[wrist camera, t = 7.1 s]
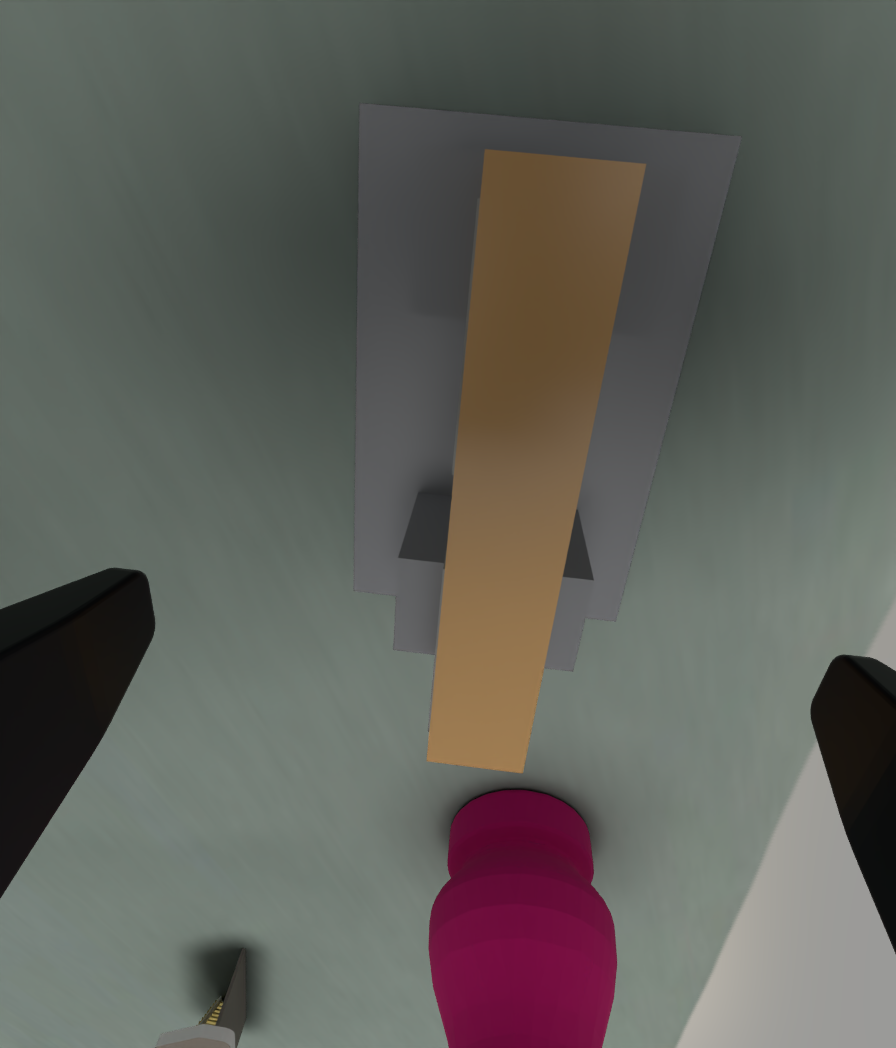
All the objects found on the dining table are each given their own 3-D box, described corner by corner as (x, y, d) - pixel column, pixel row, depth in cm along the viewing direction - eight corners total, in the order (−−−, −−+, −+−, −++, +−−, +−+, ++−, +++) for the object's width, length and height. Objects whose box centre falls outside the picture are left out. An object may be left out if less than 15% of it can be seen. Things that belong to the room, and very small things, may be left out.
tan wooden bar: (521, 670, 17) (525, 773, 14) (439, 660, 17) (424, 760, 14) (611, 173, 11) (649, 164, 8) (488, 162, 12) (480, 148, 8)
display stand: (611, 604, 22) (637, 707, 17) (359, 575, 22) (322, 668, 18) (729, 139, 15) (819, 115, 11) (367, 108, 16) (312, 71, 11)
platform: (146, 1029, 41) (87, 1166, 35) (118, 864, 32) (34, 1008, 27) (323, 1061, 41) (293, 1203, 35) (342, 904, 32) (306, 1057, 27)
